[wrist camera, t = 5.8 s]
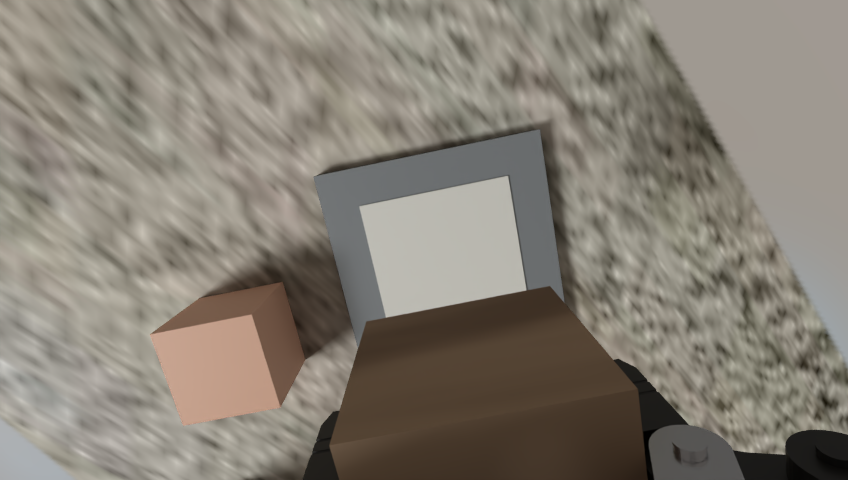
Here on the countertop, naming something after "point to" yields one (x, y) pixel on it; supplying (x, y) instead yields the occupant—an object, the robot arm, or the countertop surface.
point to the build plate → (441, 227)
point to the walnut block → (488, 397)
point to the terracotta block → (230, 354)
